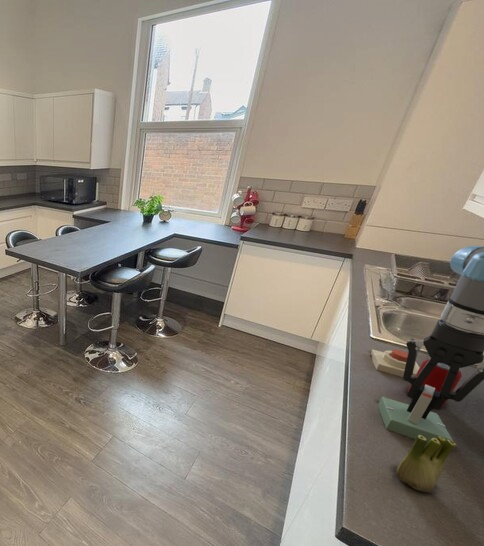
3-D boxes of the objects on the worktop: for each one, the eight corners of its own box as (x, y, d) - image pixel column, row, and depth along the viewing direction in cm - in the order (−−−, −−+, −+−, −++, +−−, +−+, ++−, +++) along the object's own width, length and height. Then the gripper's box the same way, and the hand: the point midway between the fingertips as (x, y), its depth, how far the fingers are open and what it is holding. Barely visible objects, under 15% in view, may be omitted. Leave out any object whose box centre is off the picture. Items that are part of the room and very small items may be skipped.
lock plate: (432, 422, 76) (438, 413, 74) (447, 450, 69) (454, 440, 67) (376, 405, 81) (381, 395, 79) (385, 429, 74) (390, 419, 72)
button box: (412, 366, 96) (417, 355, 95) (422, 382, 89) (428, 371, 88) (369, 355, 101) (374, 344, 100) (376, 369, 94) (381, 359, 93)
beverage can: (445, 403, 82) (467, 366, 77) (440, 414, 78) (462, 375, 74) (409, 387, 87) (428, 352, 83) (403, 397, 83) (422, 360, 79)
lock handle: (412, 408, 76) (426, 383, 73) (421, 412, 75) (436, 387, 72) (407, 420, 72) (421, 394, 70) (417, 424, 71) (432, 398, 68)
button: (406, 357, 94) (408, 352, 94) (410, 364, 91) (412, 359, 91) (388, 352, 96) (390, 348, 96) (392, 359, 93) (394, 354, 93)
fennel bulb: (392, 481, 62) (418, 437, 57) (390, 464, 65) (414, 421, 61) (435, 501, 58) (466, 456, 54) (429, 481, 62) (458, 438, 57)
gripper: (412, 316, 68) (371, 400, 76) (524, 349, 57) (462, 442, 65) (418, 307, 72) (379, 387, 81) (524, 336, 61) (465, 425, 70)
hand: (416, 412), depth 73 cm, fingers closed on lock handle, 2 cm apart
